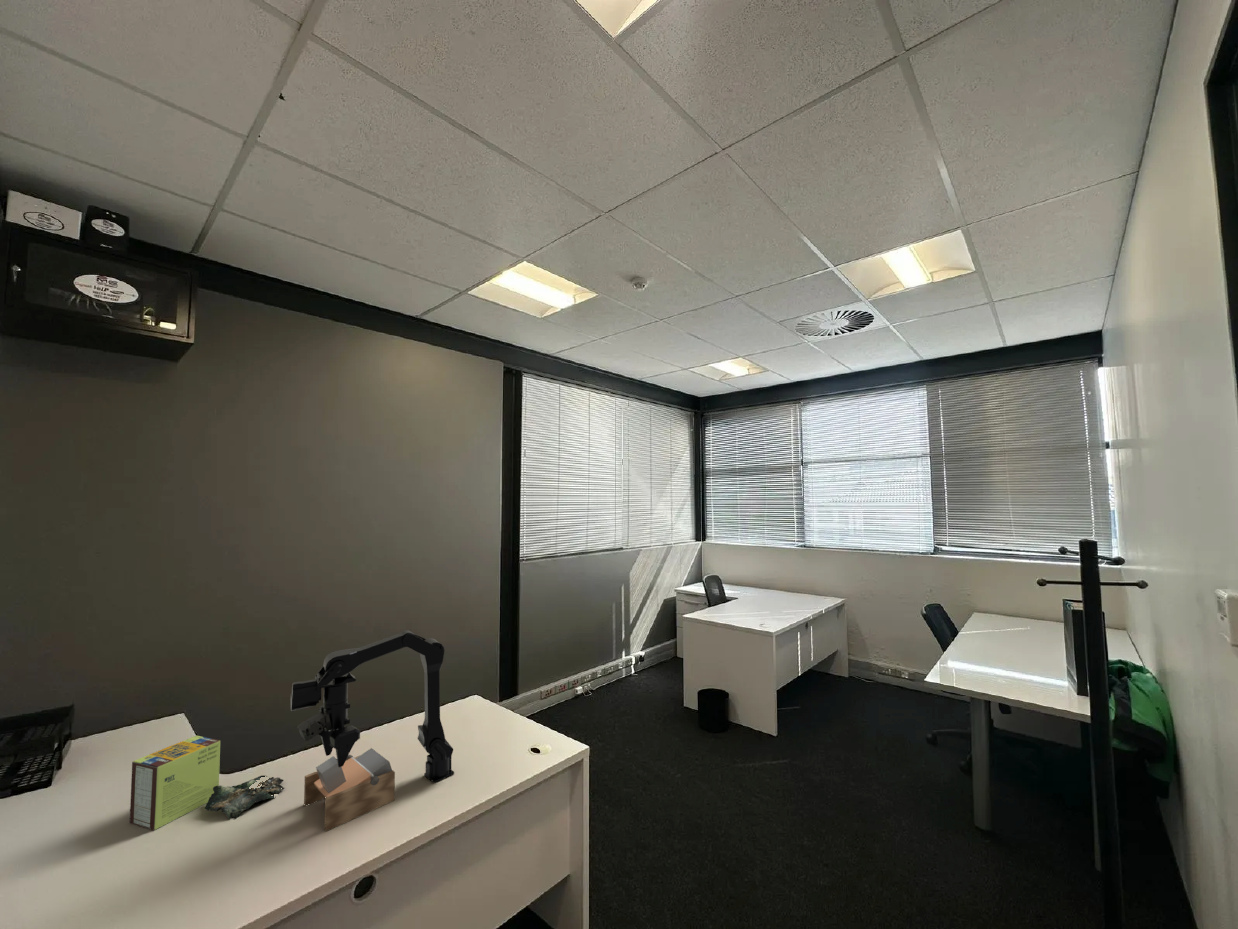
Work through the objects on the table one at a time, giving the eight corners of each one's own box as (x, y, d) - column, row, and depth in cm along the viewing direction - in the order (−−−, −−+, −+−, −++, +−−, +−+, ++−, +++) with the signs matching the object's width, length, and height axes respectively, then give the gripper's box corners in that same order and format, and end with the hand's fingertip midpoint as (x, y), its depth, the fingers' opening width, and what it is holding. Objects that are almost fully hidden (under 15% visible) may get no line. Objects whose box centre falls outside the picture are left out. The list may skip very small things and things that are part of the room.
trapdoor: (373, 758, 150) (369, 745, 149) (395, 775, 140) (390, 761, 140) (318, 797, 139) (313, 782, 138) (337, 817, 129) (332, 802, 129)
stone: (340, 775, 138) (333, 756, 138) (346, 781, 136) (339, 761, 135) (322, 787, 135) (315, 767, 134) (328, 793, 132) (321, 773, 131)
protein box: (219, 797, 142) (221, 739, 143) (153, 831, 127) (156, 767, 128) (194, 790, 145) (196, 734, 146) (127, 823, 130) (130, 761, 132)
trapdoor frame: (368, 777, 150) (368, 747, 151) (395, 801, 138) (395, 768, 139) (303, 803, 138) (304, 771, 138) (327, 832, 125) (327, 796, 126)
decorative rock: (254, 764, 152) (299, 763, 150) (253, 786, 151) (299, 785, 149) (193, 797, 133) (244, 796, 131) (192, 823, 132) (243, 822, 130)
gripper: (290, 701, 137) (289, 761, 136) (314, 720, 125) (312, 786, 123) (335, 689, 145) (334, 745, 144) (361, 706, 133) (360, 768, 132)
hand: (334, 760), depth 136 cm, fingers open, 9 cm apart
